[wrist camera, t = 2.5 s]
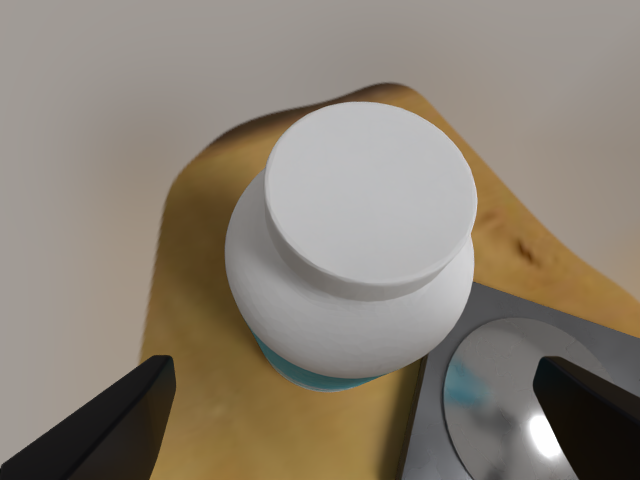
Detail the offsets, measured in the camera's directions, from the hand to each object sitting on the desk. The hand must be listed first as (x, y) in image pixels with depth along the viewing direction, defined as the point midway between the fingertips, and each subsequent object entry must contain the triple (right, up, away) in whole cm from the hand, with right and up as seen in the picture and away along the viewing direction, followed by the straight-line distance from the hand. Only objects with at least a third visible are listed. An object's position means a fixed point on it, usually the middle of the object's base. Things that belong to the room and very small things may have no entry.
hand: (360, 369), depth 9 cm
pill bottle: (-1, -1, +11) cm, 11 cm away
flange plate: (+9, -6, +10) cm, 15 cm away
